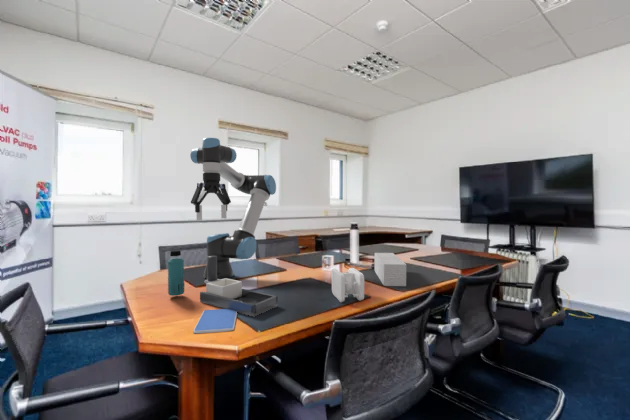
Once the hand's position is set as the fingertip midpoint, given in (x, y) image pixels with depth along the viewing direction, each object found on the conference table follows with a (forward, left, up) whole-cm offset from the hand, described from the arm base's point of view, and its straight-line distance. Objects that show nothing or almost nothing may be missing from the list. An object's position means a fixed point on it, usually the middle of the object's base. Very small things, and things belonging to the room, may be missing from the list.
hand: (212, 219), depth 139 cm
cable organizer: (-24, +57, -33) cm, 70 cm away
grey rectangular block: (-66, +61, -33) cm, 95 cm away
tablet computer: (+22, +30, -34) cm, 50 cm away
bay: (+7, +24, -33) cm, 41 cm away
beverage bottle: (+15, -5, -33) cm, 37 cm away
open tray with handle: (+7, +14, -31) cm, 35 cm away
